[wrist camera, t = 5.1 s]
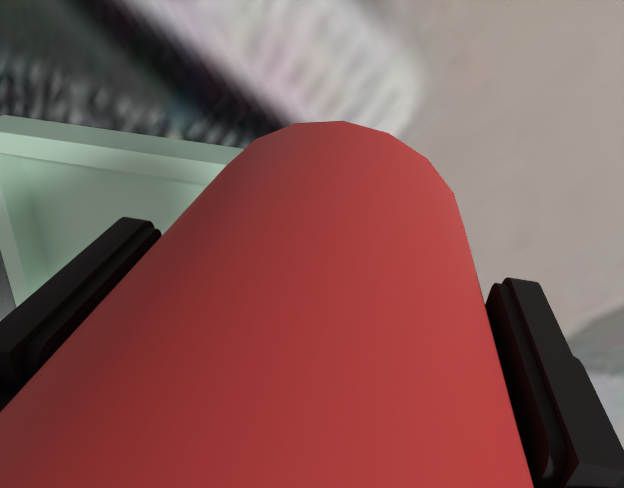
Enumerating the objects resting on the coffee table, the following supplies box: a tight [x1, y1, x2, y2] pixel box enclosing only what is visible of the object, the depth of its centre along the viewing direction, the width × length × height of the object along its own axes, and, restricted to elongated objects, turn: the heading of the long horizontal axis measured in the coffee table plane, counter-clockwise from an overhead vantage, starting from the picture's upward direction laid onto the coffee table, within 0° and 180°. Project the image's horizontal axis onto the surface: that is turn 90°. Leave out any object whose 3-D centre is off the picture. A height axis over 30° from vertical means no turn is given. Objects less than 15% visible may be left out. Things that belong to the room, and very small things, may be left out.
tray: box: [0, 115, 244, 307], centre depth 29 cm, size 16×16×3 cm
